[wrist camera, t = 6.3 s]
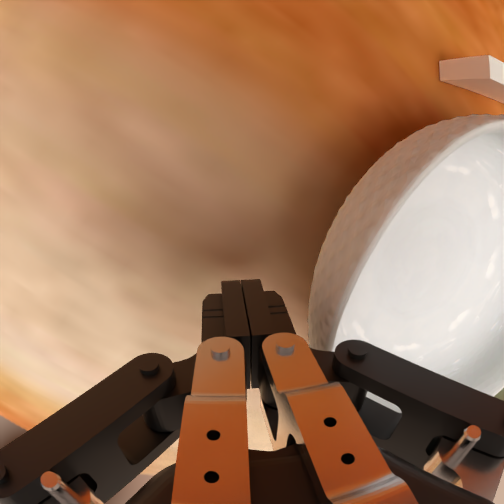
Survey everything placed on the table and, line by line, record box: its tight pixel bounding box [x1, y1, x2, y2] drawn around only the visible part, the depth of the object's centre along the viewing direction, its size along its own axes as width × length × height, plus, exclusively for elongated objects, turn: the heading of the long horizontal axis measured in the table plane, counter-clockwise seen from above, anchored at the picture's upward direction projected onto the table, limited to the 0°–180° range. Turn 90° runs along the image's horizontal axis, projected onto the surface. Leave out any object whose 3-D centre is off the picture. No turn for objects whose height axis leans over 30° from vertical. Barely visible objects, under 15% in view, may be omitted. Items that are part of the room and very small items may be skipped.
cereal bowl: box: [308, 114, 504, 413], centre depth 14 cm, size 17×17×7 cm
